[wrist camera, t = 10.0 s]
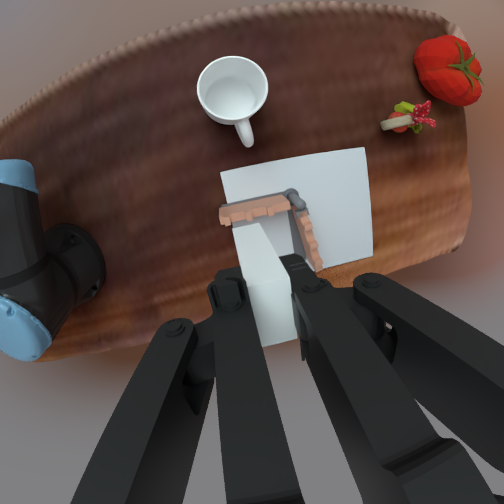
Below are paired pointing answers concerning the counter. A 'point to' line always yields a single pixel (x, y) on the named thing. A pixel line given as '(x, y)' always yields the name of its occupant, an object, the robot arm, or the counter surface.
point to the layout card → (311, 202)
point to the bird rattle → (408, 117)
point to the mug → (233, 93)
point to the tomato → (449, 70)
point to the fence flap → (307, 237)
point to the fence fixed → (259, 208)
